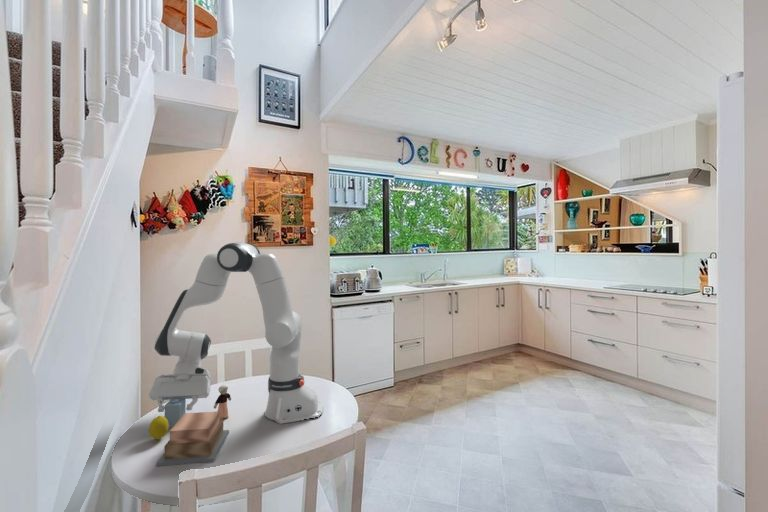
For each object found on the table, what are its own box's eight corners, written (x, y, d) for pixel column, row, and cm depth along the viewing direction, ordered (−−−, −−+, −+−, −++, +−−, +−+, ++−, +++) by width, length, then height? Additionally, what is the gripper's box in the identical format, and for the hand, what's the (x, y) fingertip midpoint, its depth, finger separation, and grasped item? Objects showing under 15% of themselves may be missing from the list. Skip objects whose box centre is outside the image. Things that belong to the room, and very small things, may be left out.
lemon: (146, 445, 111) (146, 421, 111) (152, 436, 116) (152, 413, 116) (165, 442, 112) (165, 419, 112) (170, 433, 118) (170, 411, 117)
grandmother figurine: (221, 423, 125) (221, 389, 125) (211, 422, 126) (212, 388, 125) (234, 413, 132) (234, 381, 132) (225, 412, 133) (225, 380, 133)
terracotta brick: (223, 432, 117) (223, 409, 117) (210, 455, 104) (210, 430, 104) (182, 435, 115) (182, 412, 115) (164, 459, 102) (164, 433, 102)
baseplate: (229, 432, 119) (229, 429, 119) (214, 461, 103) (214, 458, 103) (179, 436, 116) (179, 433, 116) (156, 466, 101) (156, 462, 101)
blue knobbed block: (185, 419, 127) (185, 396, 127) (179, 426, 122) (179, 402, 122) (170, 420, 127) (170, 397, 126) (164, 427, 122) (164, 403, 121)
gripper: (153, 371, 129) (139, 409, 120) (211, 369, 133) (202, 406, 123) (159, 378, 134) (146, 415, 125) (215, 376, 137) (206, 412, 128)
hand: (174, 410), depth 124 cm, fingers open, 8 cm apart
